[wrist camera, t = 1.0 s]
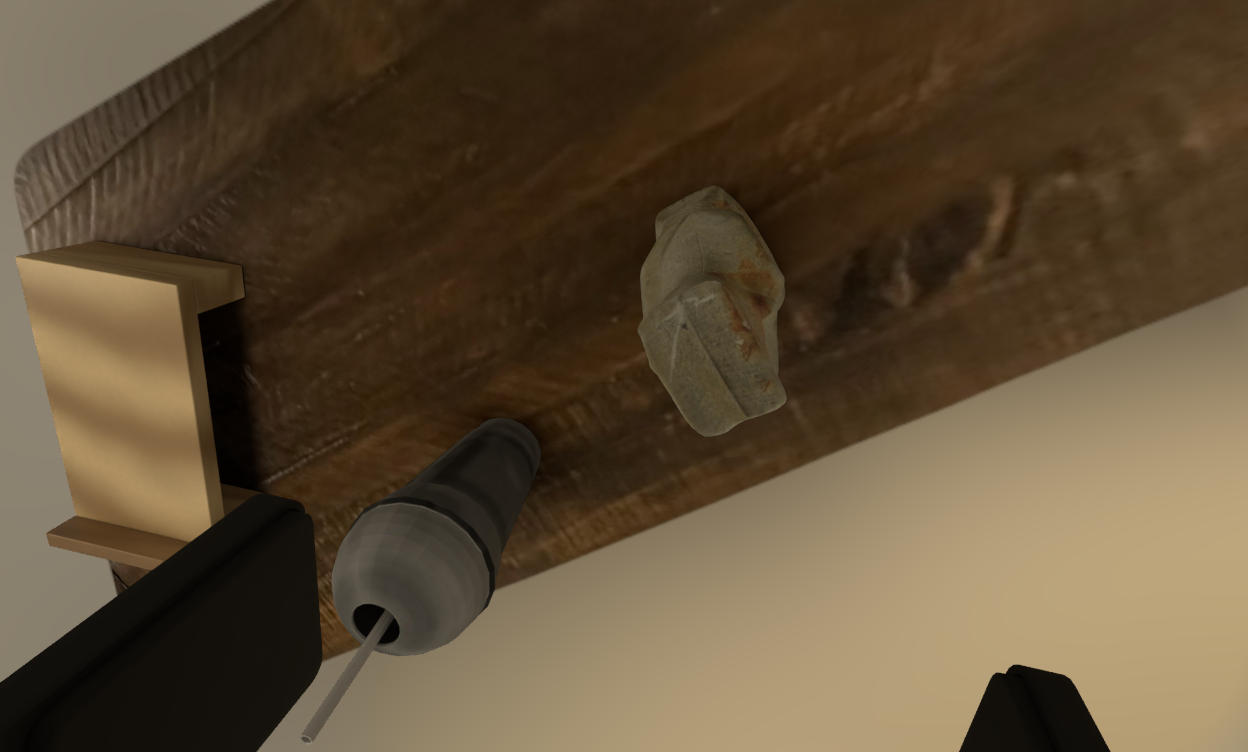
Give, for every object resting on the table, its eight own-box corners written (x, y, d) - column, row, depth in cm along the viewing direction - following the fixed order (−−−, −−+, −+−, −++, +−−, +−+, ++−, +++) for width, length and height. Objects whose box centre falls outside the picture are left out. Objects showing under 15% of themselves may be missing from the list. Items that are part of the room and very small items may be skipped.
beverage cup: (573, 416, 40) (415, 674, 22) (551, 516, 43) (395, 818, 24) (458, 382, 41) (208, 605, 22) (444, 482, 43) (213, 753, 25)
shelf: (96, 240, 42) (-25, 263, 35) (242, 265, 40) (144, 294, 34) (142, 488, 49) (48, 546, 42) (268, 516, 47) (191, 580, 41)
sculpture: (698, 336, 37) (662, 471, 23) (642, 213, 35) (565, 280, 21) (802, 294, 35) (829, 414, 21) (748, 162, 33) (739, 200, 19)
